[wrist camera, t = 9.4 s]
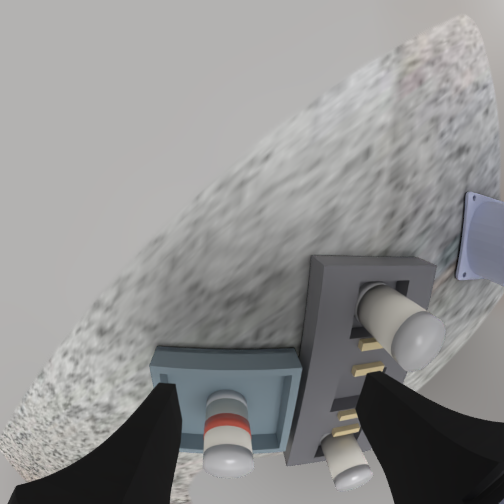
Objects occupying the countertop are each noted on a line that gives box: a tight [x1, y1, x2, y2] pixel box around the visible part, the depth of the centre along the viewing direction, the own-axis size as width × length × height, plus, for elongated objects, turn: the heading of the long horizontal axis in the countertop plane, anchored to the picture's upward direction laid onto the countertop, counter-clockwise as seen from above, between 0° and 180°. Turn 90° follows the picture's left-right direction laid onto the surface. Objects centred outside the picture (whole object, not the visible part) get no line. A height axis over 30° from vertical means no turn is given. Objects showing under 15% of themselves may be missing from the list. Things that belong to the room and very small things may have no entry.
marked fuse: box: [203, 390, 254, 478], centre depth 16 cm, size 3×3×6 cm
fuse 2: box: [354, 281, 446, 372], centre depth 14 cm, size 3×3×6 cm
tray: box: [149, 346, 302, 454], centre depth 18 cm, size 10×10×2 cm
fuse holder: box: [283, 255, 437, 466], centre depth 18 cm, size 9×20×3 cm, turn 178°
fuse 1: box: [320, 433, 373, 492], centre depth 17 cm, size 3×3×6 cm
